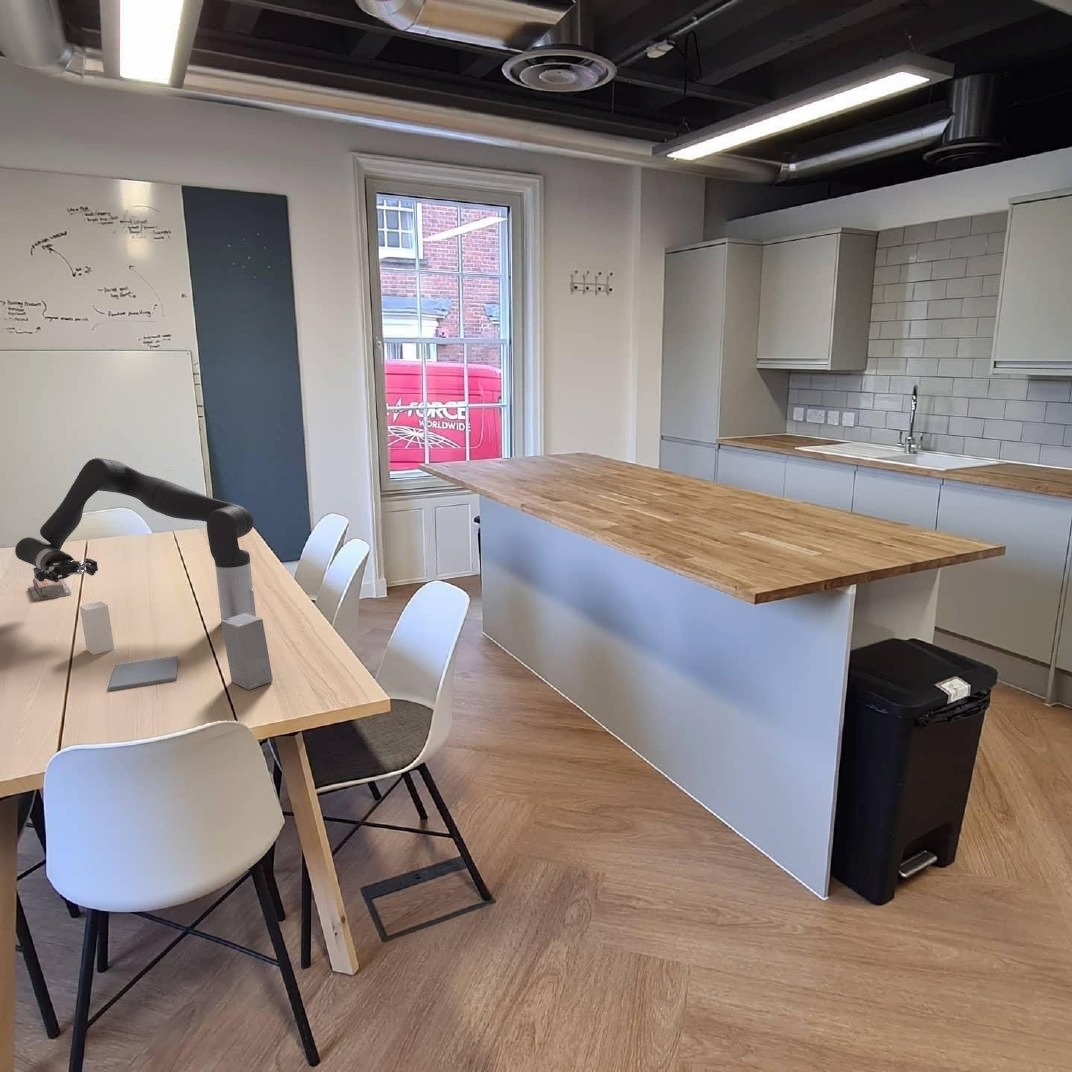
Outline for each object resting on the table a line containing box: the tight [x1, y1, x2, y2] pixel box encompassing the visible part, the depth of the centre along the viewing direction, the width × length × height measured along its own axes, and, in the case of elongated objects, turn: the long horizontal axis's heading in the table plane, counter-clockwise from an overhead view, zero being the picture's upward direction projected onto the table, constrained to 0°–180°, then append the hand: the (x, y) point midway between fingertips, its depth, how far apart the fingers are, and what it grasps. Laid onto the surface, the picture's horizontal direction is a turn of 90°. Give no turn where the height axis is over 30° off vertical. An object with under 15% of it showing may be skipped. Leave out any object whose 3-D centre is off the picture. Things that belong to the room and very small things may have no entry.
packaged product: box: [28, 577, 72, 602], centre depth 246 cm, size 18×5×10 cm
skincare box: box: [220, 613, 274, 691], centre depth 176 cm, size 8×7×16 cm
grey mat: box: [108, 655, 180, 692], centre depth 183 cm, size 14×14×1 cm
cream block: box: [79, 600, 115, 656], centre depth 197 cm, size 5×5×12 cm
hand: (75, 575), depth 201 cm, fingers open, 8 cm apart
